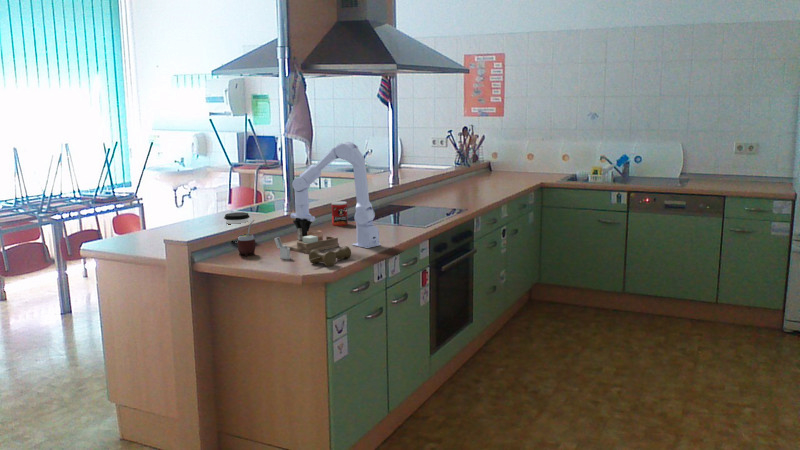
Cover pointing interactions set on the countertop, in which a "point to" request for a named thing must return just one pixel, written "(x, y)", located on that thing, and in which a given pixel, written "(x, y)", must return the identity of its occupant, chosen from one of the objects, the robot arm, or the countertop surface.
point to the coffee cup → (236, 218)
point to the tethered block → (313, 233)
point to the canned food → (339, 213)
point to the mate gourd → (246, 243)
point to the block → (309, 239)
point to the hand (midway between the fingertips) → (303, 236)
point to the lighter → (282, 249)
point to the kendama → (329, 256)
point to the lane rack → (312, 245)
